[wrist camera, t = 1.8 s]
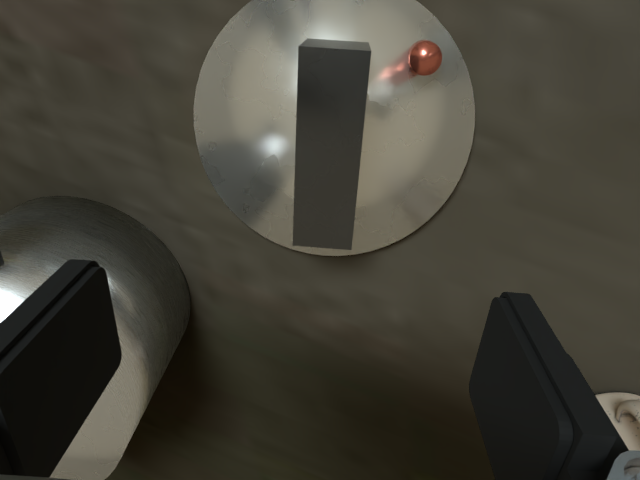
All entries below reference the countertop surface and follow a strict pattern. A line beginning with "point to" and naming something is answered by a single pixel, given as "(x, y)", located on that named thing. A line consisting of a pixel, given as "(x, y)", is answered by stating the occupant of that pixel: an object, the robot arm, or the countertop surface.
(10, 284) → the pot
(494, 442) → the robot arm
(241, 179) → the lid
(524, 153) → the countertop surface
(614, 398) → the teacup with lid
